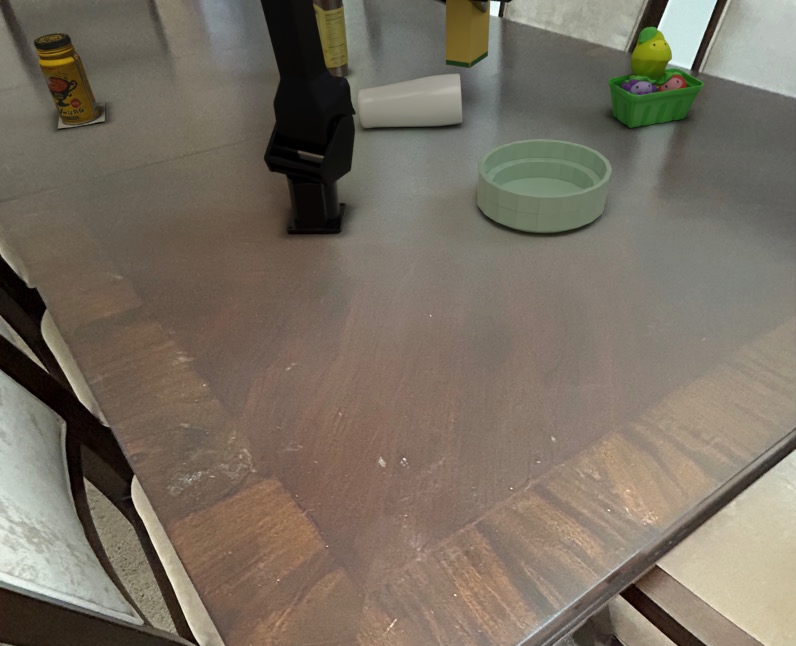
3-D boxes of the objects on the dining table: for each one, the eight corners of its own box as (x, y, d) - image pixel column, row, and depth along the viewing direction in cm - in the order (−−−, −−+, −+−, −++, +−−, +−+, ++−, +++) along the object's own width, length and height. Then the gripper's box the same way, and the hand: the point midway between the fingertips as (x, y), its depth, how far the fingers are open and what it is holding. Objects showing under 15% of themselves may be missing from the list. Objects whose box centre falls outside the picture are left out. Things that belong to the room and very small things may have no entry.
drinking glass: (360, 137, 98) (462, 127, 97) (354, 86, 95) (460, 74, 93) (364, 129, 104) (461, 119, 102) (359, 81, 100) (459, 70, 99)
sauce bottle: (312, 70, 120) (295, -64, 106) (347, 66, 121) (334, -67, 107) (316, 82, 116) (299, -56, 102) (351, 78, 117) (339, -60, 103)
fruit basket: (626, 133, 95) (642, 46, 87) (596, 111, 101) (609, 28, 94) (697, 121, 97) (720, 35, 89) (664, 100, 103) (682, 18, 95)
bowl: (613, 237, 76) (622, 196, 72) (478, 238, 77) (480, 197, 73) (594, 176, 86) (600, 137, 83) (475, 178, 87) (477, 140, 84)
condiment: (57, 130, 106) (24, 46, 97) (60, 111, 112) (29, 31, 103) (105, 122, 107) (76, 40, 99) (105, 104, 113) (78, 25, 105)
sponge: (469, 68, 97) (472, -29, 89) (445, 64, 99) (446, -31, 90) (487, 56, 101) (492, -39, 92) (464, 52, 102) (466, -41, 94)
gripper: (529, -137, 77) (554, -44, 91) (392, -139, 85) (435, -52, 99) (495, -42, 78) (525, 36, 92) (362, -52, 85) (409, 22, 100)
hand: (472, 8), depth 96 cm, fingers closed on sponge, 4 cm apart
